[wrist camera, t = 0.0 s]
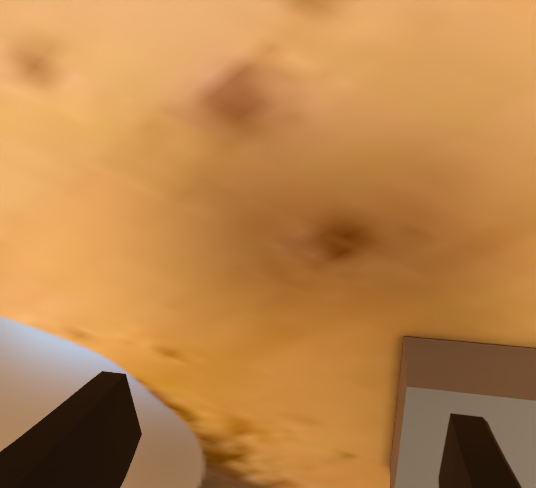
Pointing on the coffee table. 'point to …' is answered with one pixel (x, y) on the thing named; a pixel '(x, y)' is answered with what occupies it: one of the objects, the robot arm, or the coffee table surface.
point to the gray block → (462, 405)
